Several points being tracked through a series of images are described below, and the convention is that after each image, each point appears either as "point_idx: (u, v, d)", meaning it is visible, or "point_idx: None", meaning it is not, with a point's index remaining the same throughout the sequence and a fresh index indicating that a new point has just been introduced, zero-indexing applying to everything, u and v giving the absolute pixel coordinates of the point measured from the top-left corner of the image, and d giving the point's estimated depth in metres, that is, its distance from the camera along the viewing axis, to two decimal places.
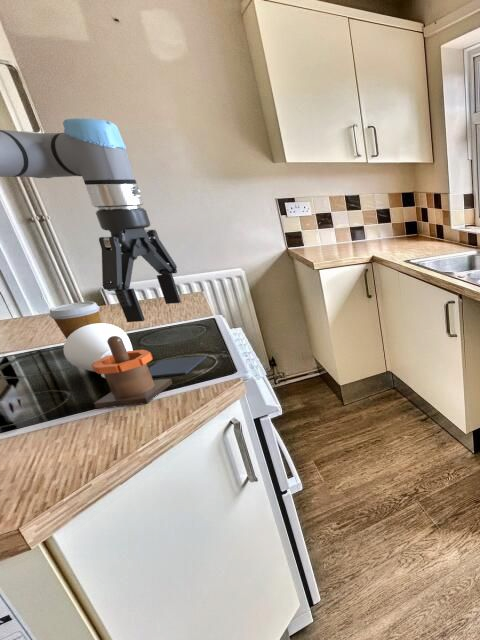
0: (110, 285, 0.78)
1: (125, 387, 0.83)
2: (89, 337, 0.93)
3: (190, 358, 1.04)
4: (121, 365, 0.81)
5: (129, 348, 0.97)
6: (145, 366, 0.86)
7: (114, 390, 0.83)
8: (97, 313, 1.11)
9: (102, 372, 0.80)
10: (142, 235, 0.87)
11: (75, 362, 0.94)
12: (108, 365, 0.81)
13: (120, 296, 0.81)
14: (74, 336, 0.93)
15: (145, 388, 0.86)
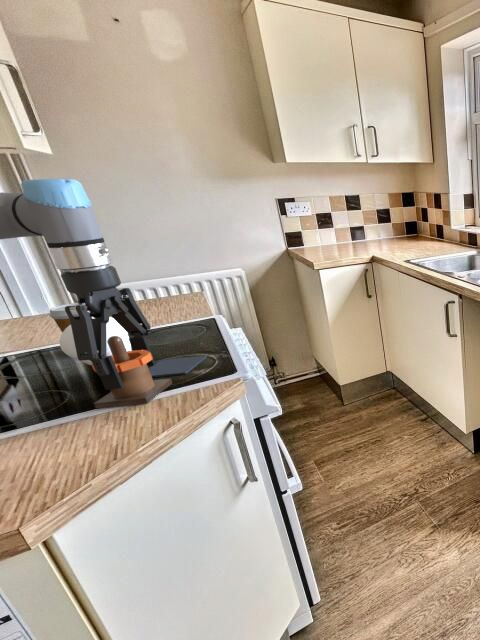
0: (85, 357, 0.75)
1: (125, 387, 0.83)
2: None
3: (190, 358, 1.04)
4: (121, 365, 0.81)
5: (127, 344, 0.96)
6: (145, 366, 0.86)
7: (114, 390, 0.83)
8: None
9: None
10: (113, 294, 0.82)
11: (72, 356, 0.92)
12: None
13: (97, 365, 0.78)
14: (70, 330, 0.91)
15: (145, 388, 0.86)
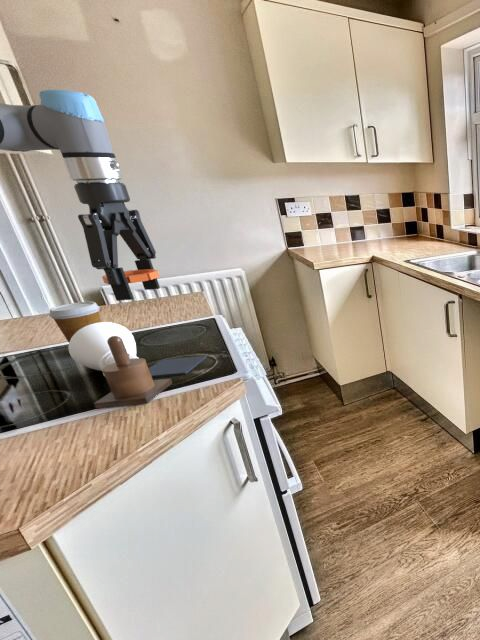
0: (99, 264, 0.81)
1: (125, 387, 0.83)
2: (93, 336, 0.94)
3: (190, 358, 1.04)
4: (130, 277, 0.86)
5: (132, 347, 0.97)
6: (145, 366, 0.86)
7: (114, 390, 0.83)
8: (97, 313, 1.11)
9: None
10: (122, 210, 0.86)
11: (79, 360, 0.94)
12: None
13: (109, 274, 0.83)
14: (79, 335, 0.94)
15: (145, 388, 0.86)
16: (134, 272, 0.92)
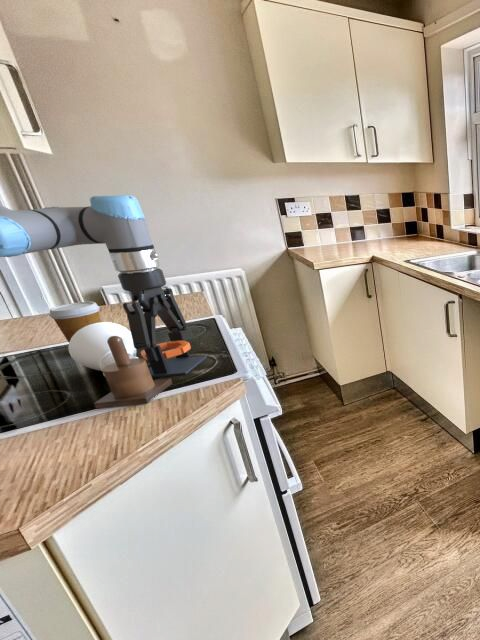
0: (140, 345, 0.90)
1: (125, 387, 0.83)
2: (93, 336, 0.94)
3: (190, 358, 1.04)
4: (166, 353, 0.95)
5: (132, 347, 0.97)
6: (145, 366, 0.86)
7: (114, 390, 0.83)
8: (97, 313, 1.11)
9: None
10: (159, 292, 0.95)
11: (79, 360, 0.94)
12: None
13: (148, 353, 0.92)
14: (79, 335, 0.94)
15: (145, 388, 0.86)
16: (168, 344, 1.01)
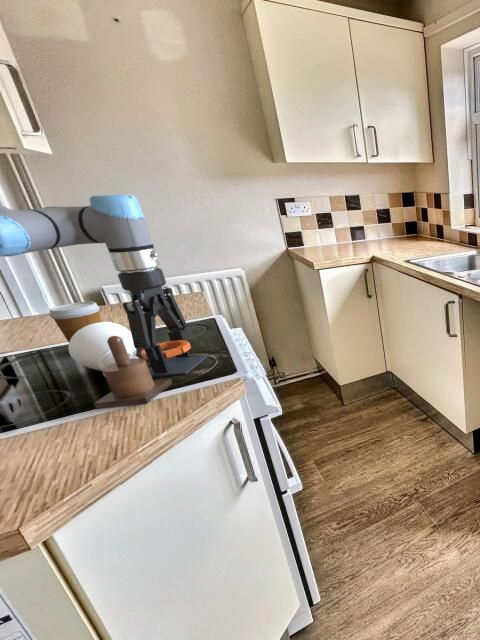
0: (140, 345, 0.90)
1: (125, 387, 0.83)
2: (93, 336, 0.94)
3: (190, 358, 1.04)
4: (166, 352, 0.95)
5: (132, 347, 0.97)
6: (145, 366, 0.86)
7: (114, 390, 0.83)
8: (97, 313, 1.11)
9: None
10: (158, 291, 0.95)
11: (79, 360, 0.94)
12: None
13: (148, 352, 0.92)
14: (79, 335, 0.94)
15: (145, 388, 0.86)
16: (168, 344, 1.01)
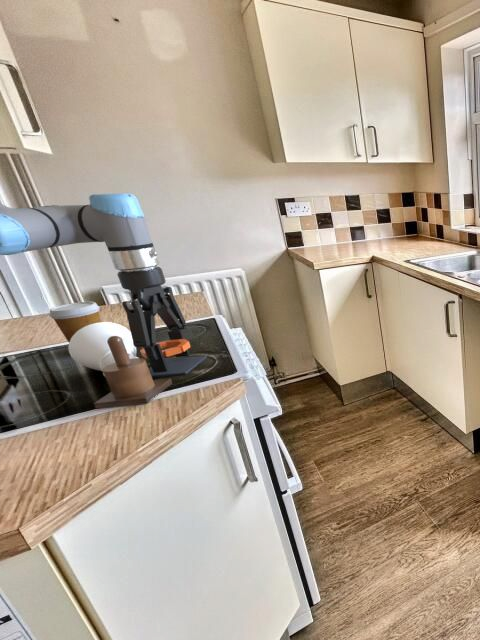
0: (140, 344, 0.89)
1: (125, 387, 0.83)
2: (93, 336, 0.94)
3: (190, 358, 1.04)
4: (166, 351, 0.95)
5: (132, 347, 0.97)
6: (145, 366, 0.86)
7: (114, 390, 0.83)
8: (97, 313, 1.11)
9: None
10: (158, 290, 0.95)
11: (79, 360, 0.94)
12: None
13: (148, 351, 0.92)
14: (79, 335, 0.94)
15: (145, 388, 0.86)
16: (168, 343, 1.00)
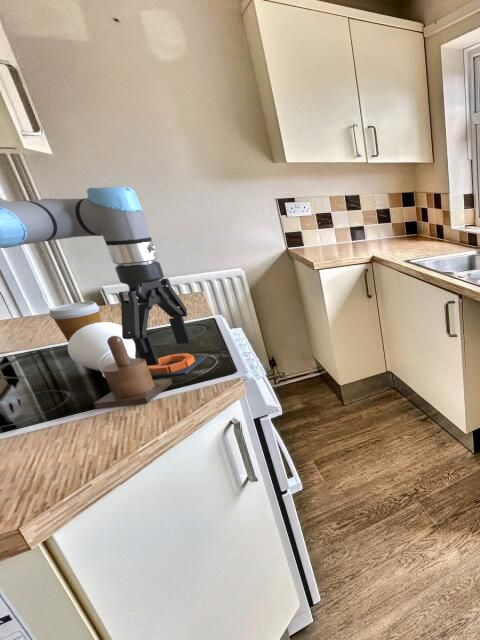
0: (129, 335, 0.87)
1: (125, 387, 0.83)
2: (91, 337, 0.94)
3: None
4: (171, 366, 0.96)
5: (130, 348, 0.97)
6: (145, 366, 0.86)
7: (114, 390, 0.83)
8: (97, 313, 1.11)
9: (155, 372, 0.95)
10: (156, 285, 0.95)
11: (79, 361, 0.94)
12: (160, 366, 0.96)
13: (137, 344, 0.89)
14: (77, 335, 0.94)
15: (145, 388, 0.86)
16: (172, 357, 1.02)
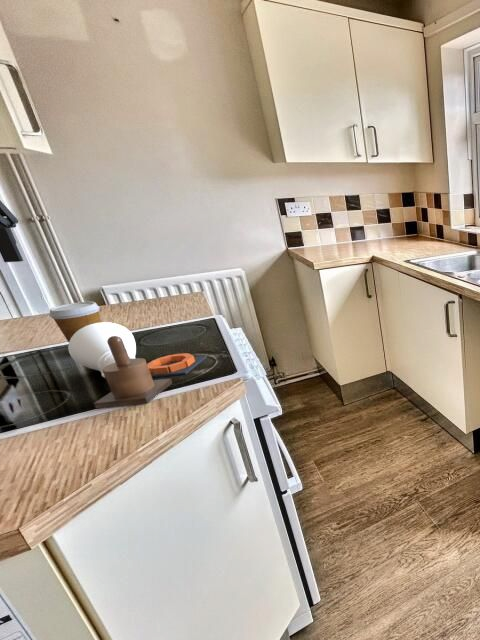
0: None
1: (125, 387, 0.83)
2: (92, 336, 0.94)
3: None
4: (171, 366, 0.96)
5: (131, 348, 0.97)
6: (145, 366, 0.86)
7: (114, 390, 0.83)
8: (97, 313, 1.11)
9: (155, 372, 0.95)
10: None
11: (79, 360, 0.94)
12: (160, 366, 0.96)
13: None
14: (78, 335, 0.94)
15: (145, 388, 0.86)
16: (172, 357, 1.02)
